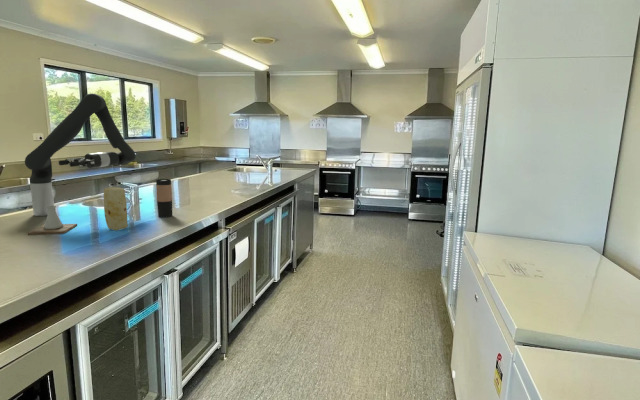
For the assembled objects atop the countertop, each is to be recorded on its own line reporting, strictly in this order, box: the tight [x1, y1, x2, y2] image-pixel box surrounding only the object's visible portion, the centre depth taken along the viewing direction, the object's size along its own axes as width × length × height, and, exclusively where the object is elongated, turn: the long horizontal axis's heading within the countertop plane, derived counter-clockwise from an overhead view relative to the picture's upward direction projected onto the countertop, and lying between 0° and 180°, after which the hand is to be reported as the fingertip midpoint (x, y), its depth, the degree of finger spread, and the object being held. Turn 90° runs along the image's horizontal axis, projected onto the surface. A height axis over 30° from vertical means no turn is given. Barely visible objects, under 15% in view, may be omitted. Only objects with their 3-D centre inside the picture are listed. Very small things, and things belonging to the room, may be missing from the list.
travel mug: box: [155, 178, 173, 218], centre depth 200 cm, size 8×8×20 cm
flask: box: [43, 205, 64, 229], centre depth 168 cm, size 7×7×10 cm
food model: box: [103, 186, 129, 232], centre depth 171 cm, size 10×7×20 cm
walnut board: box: [27, 223, 78, 236], centre depth 169 cm, size 14×14×1 cm
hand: (64, 163), depth 175 cm, fingers open, 8 cm apart
